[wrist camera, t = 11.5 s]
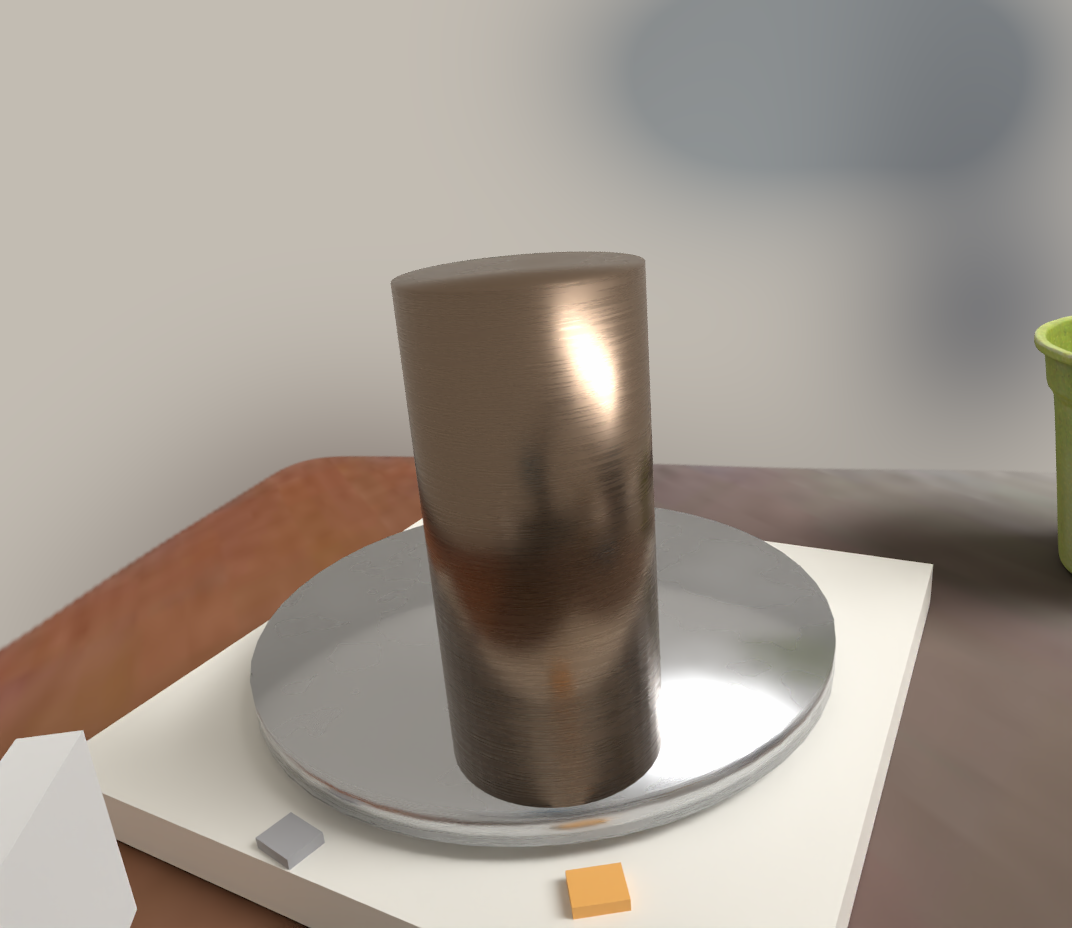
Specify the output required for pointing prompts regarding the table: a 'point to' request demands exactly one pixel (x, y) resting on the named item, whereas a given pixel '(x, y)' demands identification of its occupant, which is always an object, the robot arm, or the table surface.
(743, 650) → the dial
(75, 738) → the robot arm
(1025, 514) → the table surface
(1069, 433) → the plant pot
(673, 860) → the dial board
